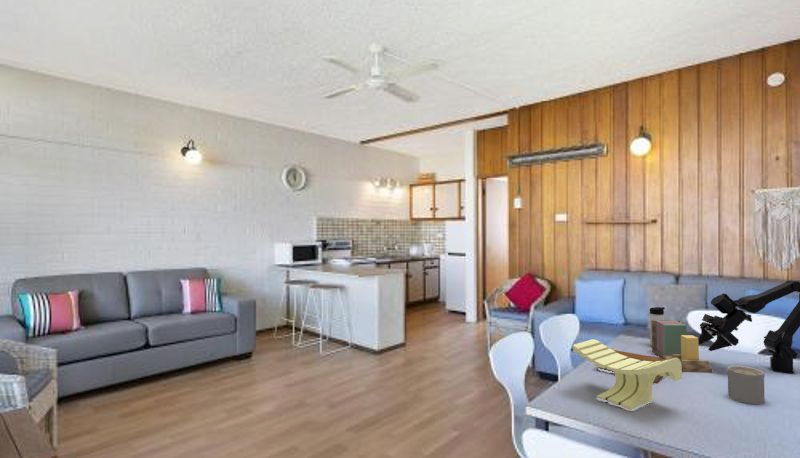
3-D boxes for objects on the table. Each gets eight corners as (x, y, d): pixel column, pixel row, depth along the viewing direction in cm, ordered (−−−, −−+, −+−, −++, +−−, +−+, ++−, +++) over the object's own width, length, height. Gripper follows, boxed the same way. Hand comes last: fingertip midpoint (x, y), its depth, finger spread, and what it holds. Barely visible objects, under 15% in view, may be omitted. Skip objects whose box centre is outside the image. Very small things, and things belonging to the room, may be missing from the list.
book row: (677, 350, 202) (676, 320, 202) (687, 356, 193) (686, 325, 193) (656, 349, 204) (656, 320, 204) (665, 355, 195) (664, 325, 195)
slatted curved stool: (682, 408, 143) (681, 355, 143) (658, 421, 134) (657, 365, 134) (598, 382, 168) (597, 337, 168) (574, 392, 159) (572, 344, 159)
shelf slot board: (679, 352, 204) (678, 320, 204) (712, 372, 176) (711, 335, 176) (652, 352, 206) (651, 320, 206) (680, 371, 178) (679, 334, 178)
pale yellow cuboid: (692, 362, 184) (692, 335, 184) (699, 366, 179) (698, 338, 179) (681, 362, 185) (680, 335, 185) (687, 366, 180) (686, 338, 180)
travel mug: (664, 349, 210) (664, 308, 210) (649, 347, 214) (648, 307, 214) (666, 346, 215) (665, 306, 214) (651, 344, 219) (650, 305, 218)
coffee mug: (759, 406, 143) (758, 377, 143) (723, 397, 151) (723, 369, 151) (771, 396, 151) (770, 368, 151) (737, 388, 159) (736, 361, 159)
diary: (669, 372, 179) (669, 358, 179) (657, 385, 166) (657, 370, 166) (611, 361, 195) (611, 348, 195) (596, 371, 182) (596, 358, 182)
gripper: (703, 303, 189) (677, 328, 191) (729, 312, 171) (700, 339, 173) (723, 321, 188) (697, 346, 190) (751, 331, 170) (722, 359, 172)
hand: (703, 347), depth 181 cm, fingers open, 9 cm apart
